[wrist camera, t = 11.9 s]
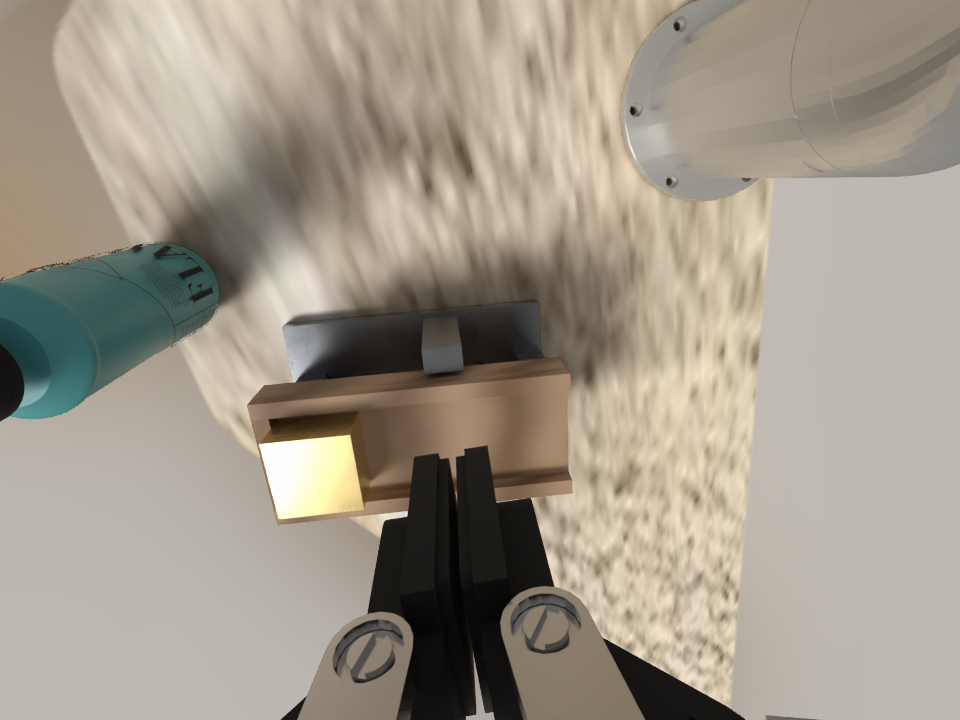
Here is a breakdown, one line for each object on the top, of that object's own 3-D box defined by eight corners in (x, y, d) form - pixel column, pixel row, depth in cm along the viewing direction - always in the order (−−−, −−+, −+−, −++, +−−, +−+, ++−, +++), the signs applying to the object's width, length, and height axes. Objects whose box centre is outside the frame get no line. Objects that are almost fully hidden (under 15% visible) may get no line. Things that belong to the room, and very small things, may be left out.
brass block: (358, 411, 31) (350, 435, 28) (370, 481, 33) (364, 509, 30) (276, 420, 31) (259, 444, 28) (293, 489, 33) (279, 519, 30)
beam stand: (536, 299, 39) (564, 331, 31) (542, 445, 43) (568, 508, 35) (285, 323, 38) (244, 363, 29) (317, 471, 42) (289, 542, 34)
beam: (559, 356, 33) (570, 373, 30) (562, 468, 36) (572, 493, 33) (264, 385, 32) (247, 405, 29) (290, 497, 35) (277, 524, 32)
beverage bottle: (250, 288, 37) (60, 401, 18) (189, 345, 38) (-53, 510, 19) (176, 216, 35) (-126, 260, 16) (113, 280, 36) (-242, 391, 17)
